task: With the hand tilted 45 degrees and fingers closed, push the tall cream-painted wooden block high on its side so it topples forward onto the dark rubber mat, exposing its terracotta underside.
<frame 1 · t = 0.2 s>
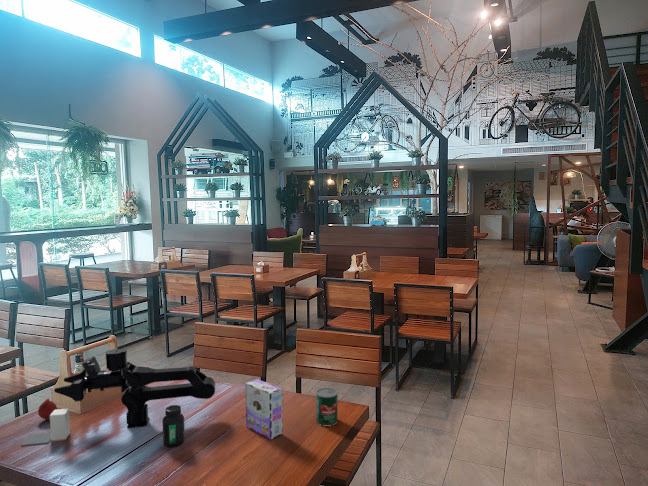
hand: (59, 385, 158), 16 cm above the table, tool horizontal, fingers open, 9 cm apart
candy box: (264, 431, 159), on the table
block: (60, 437, 155), on the table
mat: (39, 439, 153), on the table
canned tomato: (326, 422, 166), on the table
onion: (47, 420, 167), on the table
supplement bottle: (174, 443, 151), on the table
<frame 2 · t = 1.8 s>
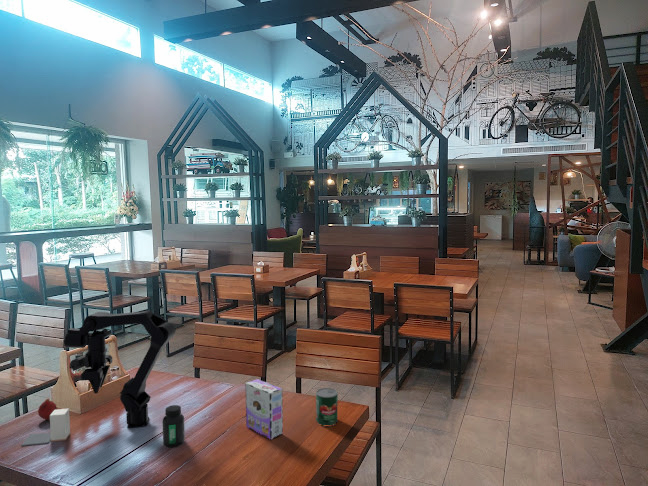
hand: (98, 390, 164), 12 cm above the table, tool pointing down, fingers open, 5 cm apart
nothing on the table moved.
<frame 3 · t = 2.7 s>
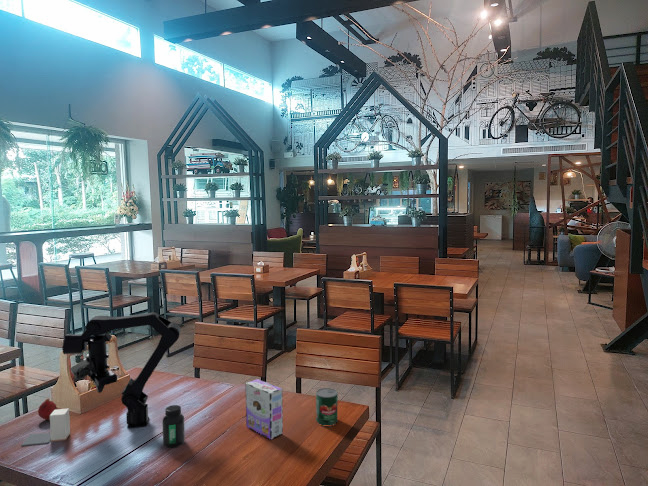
hand: (99, 392, 163), 12 cm above the table, tool pointing down, fingers closed
nothing on the table moved.
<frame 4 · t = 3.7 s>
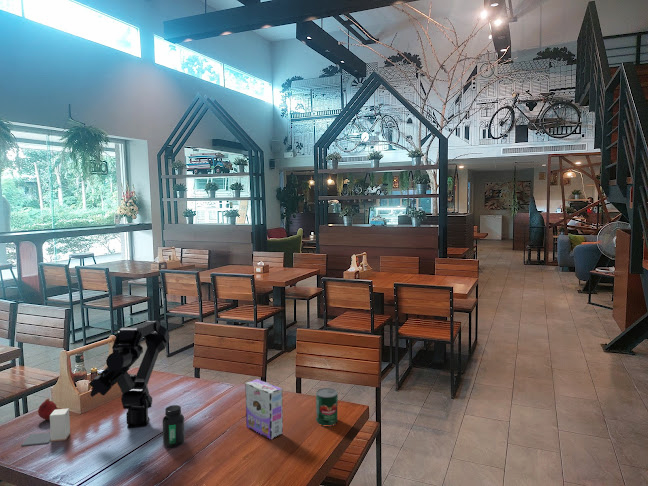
hand: (91, 395, 156), 13 cm above the table, tool tilted 45°, fingers closed
nothing on the table moved.
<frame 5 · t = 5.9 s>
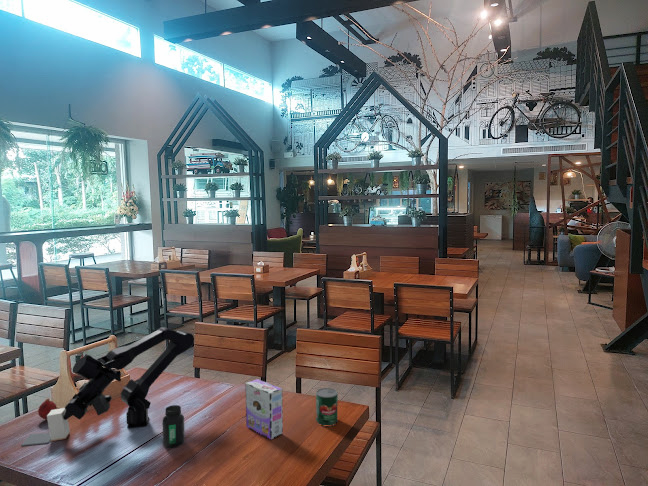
hand: (64, 418, 153), 7 cm above the table, tool tilted 45°, fingers closed, pressing on block
block: (60, 436, 155), on the table, tilted 6°, touching gripper
everything else where it was.
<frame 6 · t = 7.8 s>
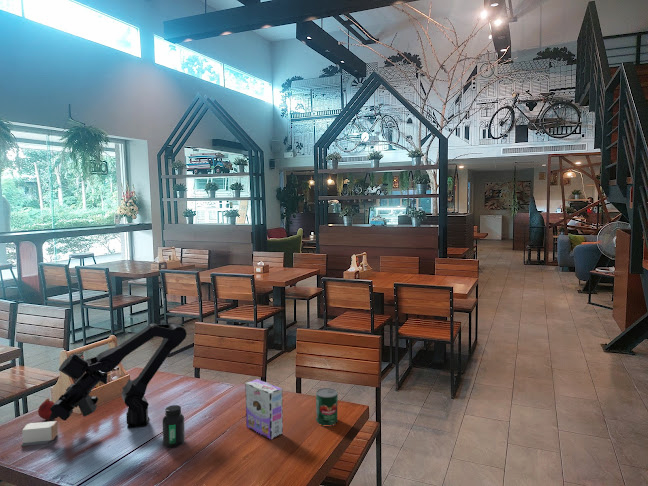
hand: (50, 419, 153), 7 cm above the table, tool tilted 45°, fingers closed
block: (55, 430, 154), point 3 cm above the table, tilted 90°, touching mat
everything else where it was.
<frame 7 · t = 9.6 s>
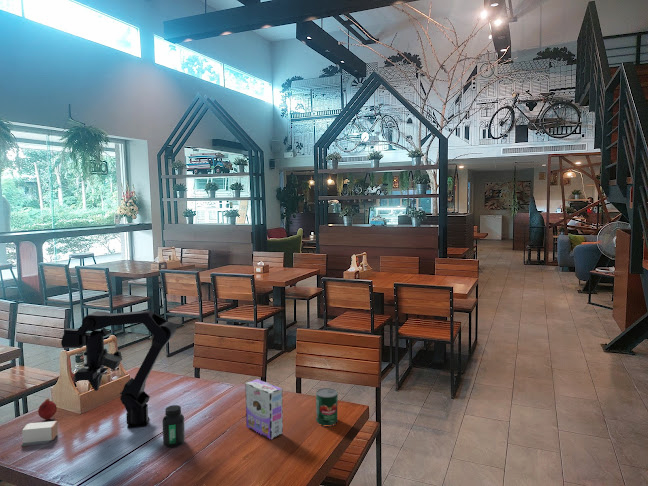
hand: (96, 390, 163), 13 cm above the table, tool pointing down, fingers closed
nothing on the table moved.
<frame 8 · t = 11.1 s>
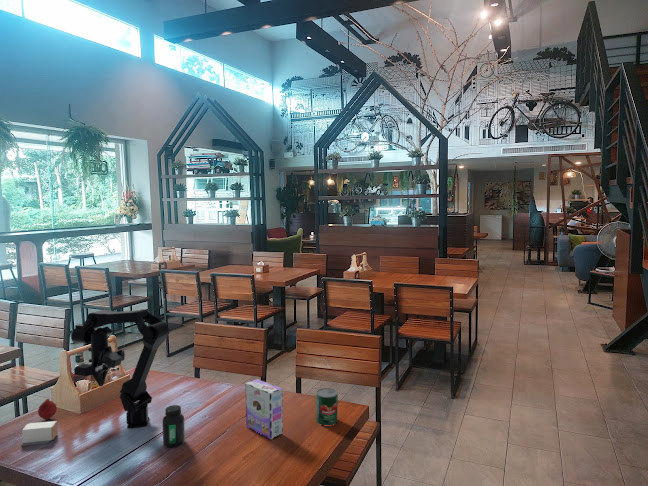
hand: (101, 385, 168), 12 cm above the table, tool pointing down, fingers closed
nothing on the table moved.
at the end: block tilted 90°; block inside the target area (6.7 cm from its centre), point 2.6 cm above the table; block touching mat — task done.
